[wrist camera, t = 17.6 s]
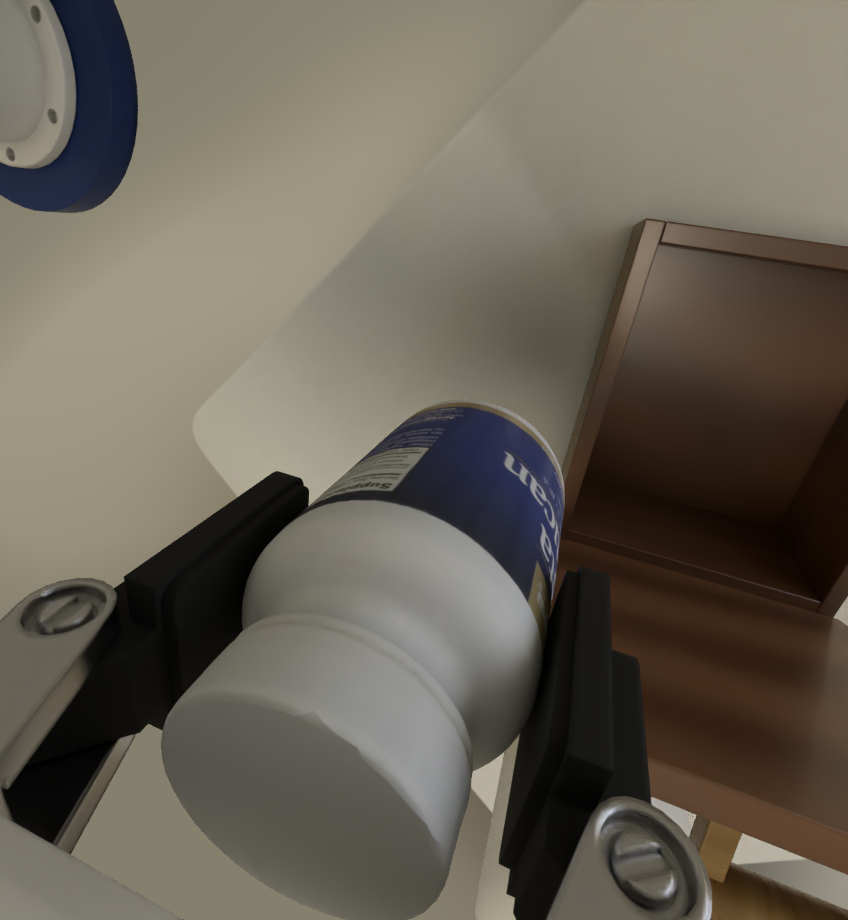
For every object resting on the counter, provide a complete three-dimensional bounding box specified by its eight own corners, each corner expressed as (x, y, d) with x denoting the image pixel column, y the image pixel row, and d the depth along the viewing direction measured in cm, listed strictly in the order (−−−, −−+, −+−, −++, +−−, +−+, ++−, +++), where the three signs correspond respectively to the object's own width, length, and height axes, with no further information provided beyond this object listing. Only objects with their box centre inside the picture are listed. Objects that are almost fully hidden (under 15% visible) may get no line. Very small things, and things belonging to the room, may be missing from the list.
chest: (634, 224, 26) (645, 217, 20) (931, 267, 23) (1065, 276, 17) (559, 477, 33) (548, 536, 27) (780, 536, 30) (832, 620, 23)
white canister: (683, 671, 36) (757, 1068, 19) (668, 786, 41) (717, 1191, 23) (512, 644, 40) (443, 949, 23) (516, 752, 45) (462, 1073, 27)
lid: (541, 717, 10) (477, 930, 11) (1474, 1071, 7) (1293, 1335, 8) (549, 534, 26) (523, 626, 27) (839, 619, 23) (799, 721, 24)
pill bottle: (600, 530, 14) (598, 991, 5) (440, 579, 16) (264, 947, 8) (512, 359, 13) (335, 593, 4) (356, 438, 15) (45, 688, 7)
